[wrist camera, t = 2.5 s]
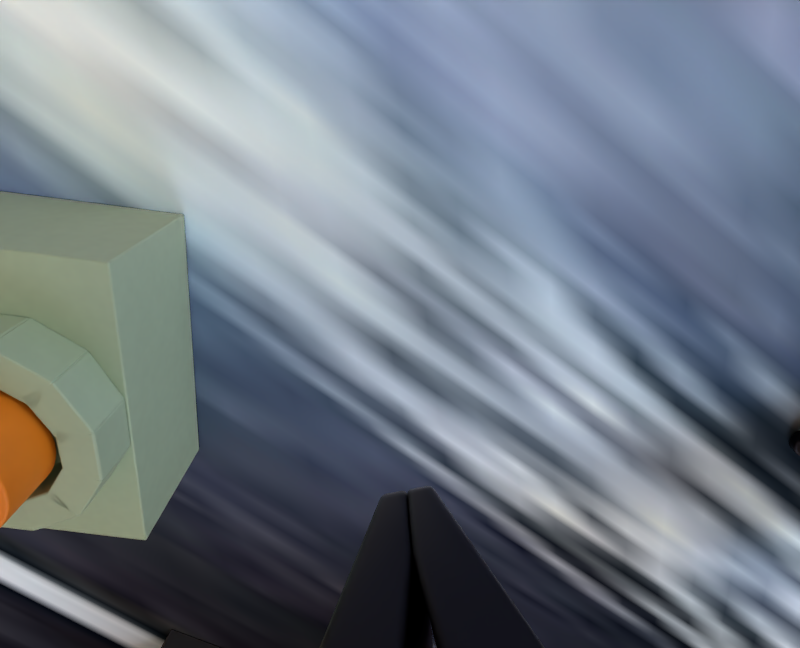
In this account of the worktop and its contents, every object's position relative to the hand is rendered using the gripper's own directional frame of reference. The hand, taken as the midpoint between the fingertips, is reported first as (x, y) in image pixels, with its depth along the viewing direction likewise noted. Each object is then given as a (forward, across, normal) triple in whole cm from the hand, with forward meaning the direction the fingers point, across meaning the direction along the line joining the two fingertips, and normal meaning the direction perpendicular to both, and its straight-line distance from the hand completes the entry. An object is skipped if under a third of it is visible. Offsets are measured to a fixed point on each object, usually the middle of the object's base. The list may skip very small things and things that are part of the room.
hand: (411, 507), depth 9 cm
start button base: (+14, +14, +1) cm, 20 cm away
